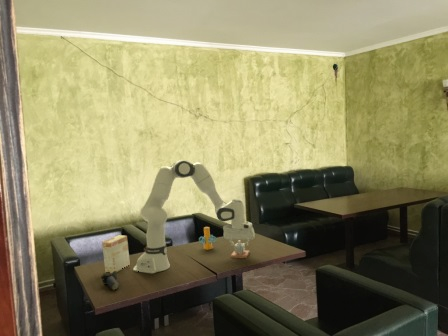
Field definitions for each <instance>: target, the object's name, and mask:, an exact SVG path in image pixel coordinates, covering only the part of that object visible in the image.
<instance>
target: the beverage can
mask: <svg viewBox="0 0 448 336" xmlns="http://www.w3.org/2000/svg"><path fill="white" fill-rule="evenodd" d="M117 272H118V271H114V272H113V273H103V274H102V275H101V276H100V278H101V280H102V283H103V285H104V284H108V286H109V288H110V289H111V290H113V291H115V289H116V290H118V289H119V287H120V284H119V283H118V281H117V279H118V273H117Z"/></svg>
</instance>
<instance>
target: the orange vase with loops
mask: <svg viewBox="0 0 448 336" xmlns="http://www.w3.org/2000/svg"><path fill="white" fill-rule="evenodd" d="M210 230H211V229H210V226H205V227H203V234H204V235H203V236H200V237H199V238H198V241H199V242H200V243H201V244H202V245H203V250H207V251H208V250H212V249H213V243H215V242H216V241H217V238H216V236H214V235H213V234H211V231H210Z"/></svg>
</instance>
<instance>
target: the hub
mask: <svg viewBox="0 0 448 336" xmlns="http://www.w3.org/2000/svg"><path fill="white" fill-rule="evenodd" d="M245 243H246V242H243V243H242V242H241V245H238V242H237V243H236V242H235V243H234V245H233V247H234V250H235V253H244V251H245V250H246V246H245V245H246V244H245Z"/></svg>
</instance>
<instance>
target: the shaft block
mask: <svg viewBox="0 0 448 336" xmlns="http://www.w3.org/2000/svg"><path fill="white" fill-rule="evenodd" d="M237 243H238V245H241V243H242V241H241V239H238V240H237ZM249 254H250V250H246V249H245V251H244V253H235V249H234V251H233V252H232V253H231V255H230V257H231V258H232V259H233V258H234V259H235V258H236V259H247V258H248V256H249Z"/></svg>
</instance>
